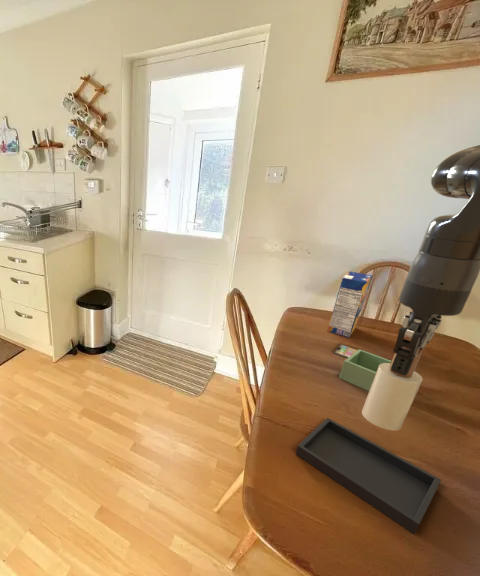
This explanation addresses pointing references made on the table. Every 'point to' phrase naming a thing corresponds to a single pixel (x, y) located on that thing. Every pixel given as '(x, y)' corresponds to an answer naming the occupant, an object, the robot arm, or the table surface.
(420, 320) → the robot arm
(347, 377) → the bin
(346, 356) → the smartphone
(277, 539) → the table surface
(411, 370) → the bottle
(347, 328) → the beverage box
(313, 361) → the table surface
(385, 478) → the tray
